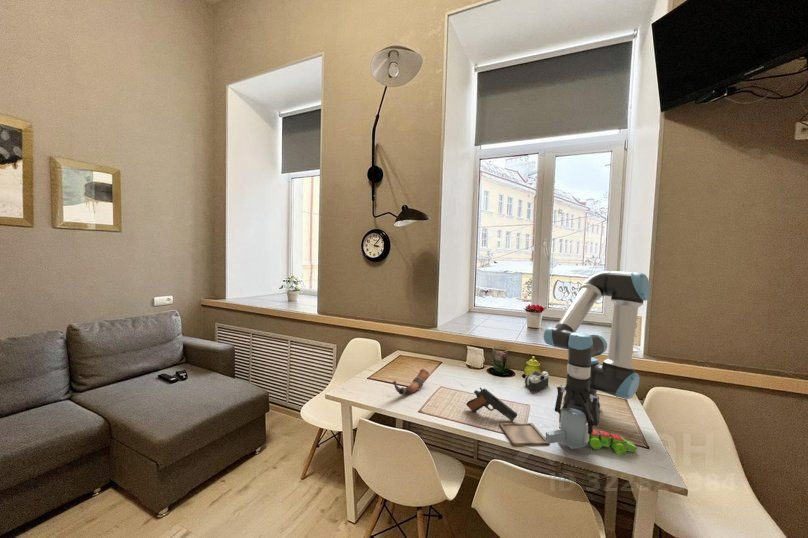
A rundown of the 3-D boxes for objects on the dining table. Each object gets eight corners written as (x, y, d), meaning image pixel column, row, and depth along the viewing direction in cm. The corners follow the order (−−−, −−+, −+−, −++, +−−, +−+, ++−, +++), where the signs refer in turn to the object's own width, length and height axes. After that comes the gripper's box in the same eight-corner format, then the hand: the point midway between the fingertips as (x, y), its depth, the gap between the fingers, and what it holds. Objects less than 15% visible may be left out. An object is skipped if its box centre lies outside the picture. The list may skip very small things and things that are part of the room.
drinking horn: (430, 385, 170) (431, 366, 169) (397, 404, 146) (398, 383, 146) (421, 382, 173) (422, 364, 172) (388, 401, 149) (388, 380, 149)
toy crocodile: (630, 448, 118) (633, 433, 118) (639, 459, 111) (641, 443, 111) (572, 435, 123) (575, 420, 122) (577, 445, 116) (580, 429, 116)
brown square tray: (531, 425, 132) (532, 422, 132) (549, 445, 118) (549, 442, 118) (499, 425, 131) (499, 423, 131) (512, 445, 117) (513, 443, 117)
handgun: (466, 403, 145) (479, 383, 142) (503, 433, 137) (518, 413, 134) (464, 405, 143) (478, 385, 140) (502, 436, 135) (517, 415, 132)
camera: (535, 382, 179) (536, 364, 178) (550, 387, 172) (551, 369, 172) (520, 389, 168) (521, 370, 168) (536, 395, 162) (537, 375, 161)
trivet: (579, 438, 123) (579, 436, 123) (598, 456, 112) (598, 453, 112) (552, 438, 123) (552, 436, 122) (568, 456, 112) (568, 454, 112)
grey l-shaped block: (571, 435, 120) (572, 406, 120) (589, 447, 112) (591, 417, 112) (539, 441, 115) (540, 411, 115) (555, 454, 108) (557, 422, 107)
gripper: (546, 370, 121) (543, 429, 122) (607, 387, 106) (603, 453, 107) (554, 366, 126) (551, 422, 127) (613, 381, 112) (609, 445, 113)
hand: (574, 436), depth 117 cm, fingers closed on grey l-shaped block, 7 cm apart
